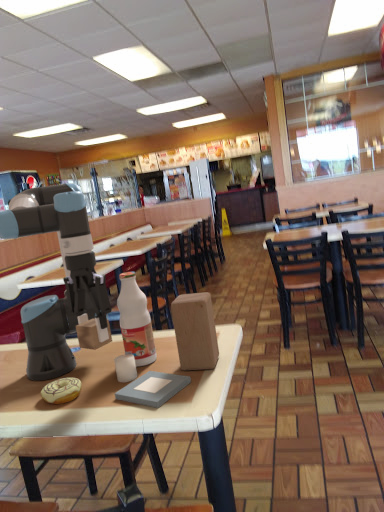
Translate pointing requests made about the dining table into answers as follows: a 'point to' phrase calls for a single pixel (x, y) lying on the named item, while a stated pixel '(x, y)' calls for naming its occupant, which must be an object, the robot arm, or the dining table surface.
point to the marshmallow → (125, 368)
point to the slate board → (153, 388)
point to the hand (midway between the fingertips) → (95, 339)
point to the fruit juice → (135, 321)
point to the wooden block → (195, 331)
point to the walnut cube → (91, 335)
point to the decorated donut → (61, 390)
